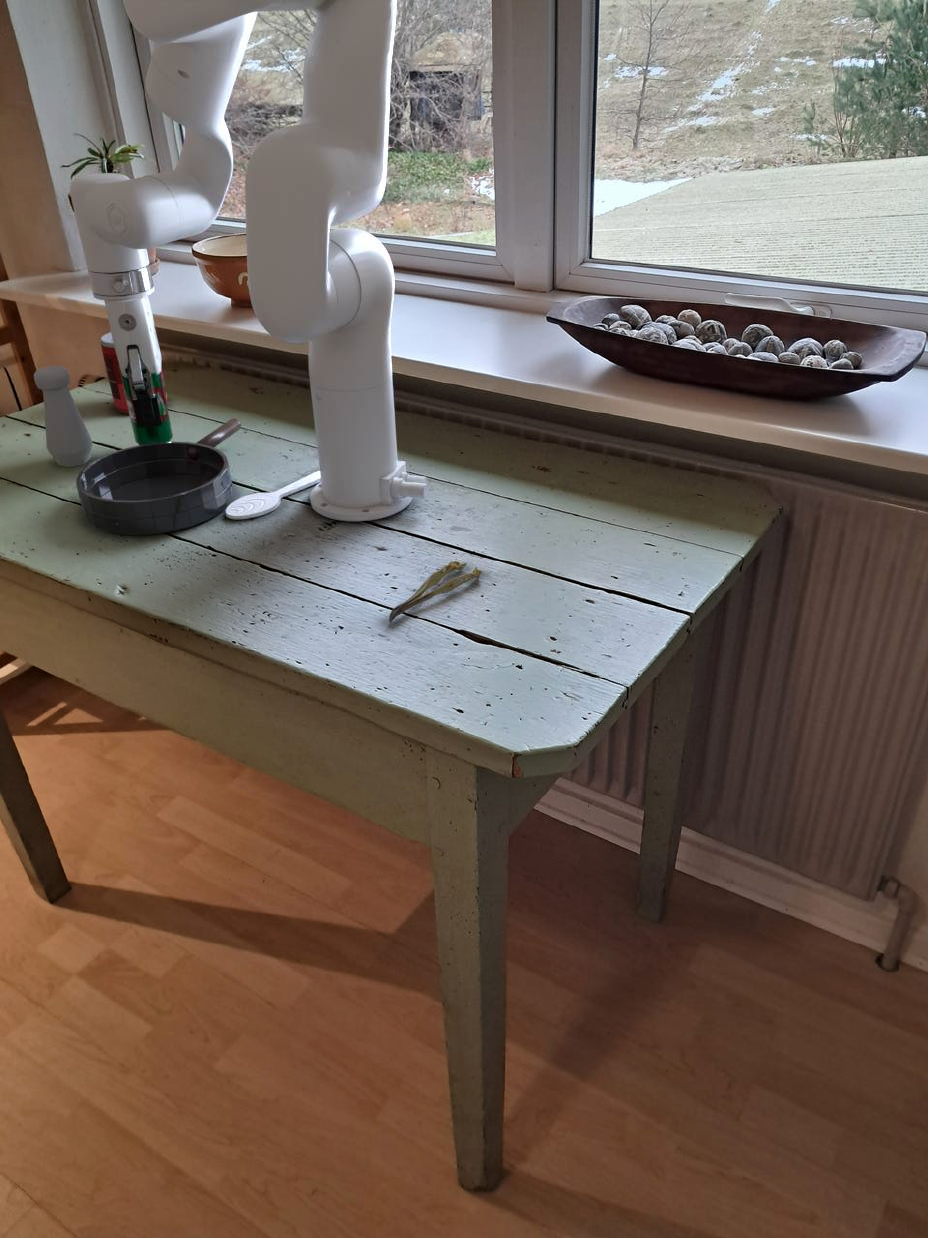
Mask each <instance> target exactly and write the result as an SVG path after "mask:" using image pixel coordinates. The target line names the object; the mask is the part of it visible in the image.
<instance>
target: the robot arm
mask: <svg viewBox="0 0 928 1238" xmlns="http://www.w3.org/2000/svg"><path fill="white" fill-rule="evenodd" d="M122 3H123V7H124V10H125V13H126V16H127V17H128V19H129V21H130V23H131V24H132V26H133V27H134V29H135V30H136V31H137V32H138V33H139V34H141V35H142V36H143V37H144V38H146V39H148V40H150V41H151V42H153V43H155V44H154V47H153V50H152V53H151V58H150V61H149V65H148V69H147V72H146V76H145V81H144V82H145V83H144V84H145V90H146V93H147V96H148V97H149V100H150V101H151V102H152V104H153V105H154V106H155V107H156V108H157V109H158V111H160V112H161V113H163V114H164V115H165V116H166V117H168V118H169V119H170V120H172V121H173V122H175V123H177V124H179V125H181V126H183V127H184V128H185V131H184V132H185V133H184V139H183V143H182V146H181V147H182V148H181V151H180V153H179V157H178V160H177V162H176V163H177V164H176V166H175V167H174V169H173V170H168V171H162V172H158V173H151V174H148V175H147V174H146V175H143V176H140V177H135V178H130V177H128V176H127V175H125V174H122V173H118V172H117V173H115V172H101V173H100V172H98V173H90V174H85V175H81V176H78V177H75V178H74V179H72V181H71V183H70V187H69V193H70V198H71V203H72V207H73V212H74V216H75V221H76V225H77V229H78V234H79V238H80V243H81V248H82V251H83V256H84V261H85V265H86V269H87V274H88V278H89V282H90V287H91V292H92V296H93V298H95V299H96V300H99V301H104V306H105V311H106V315H107V320H108V324H109V329H110V332H111V334H112V338H113V342H114V346H115V350H116V354H117V358H118V362H119V365H120V369H121V372H122V375H123V376H124V377H126V378H129V382H130V387H131V392H132V397H133V398H132V403H133V408H134V412H135V417H136V422H137V426H138V427H139V428H144V427H153V426H161V425H162V419H161V414H160V409H159V404H158V399H157V395H156V396H155V395H154V390H153V384H152V379H151V373H156V375H159V374H160V372H161V368H162V352H161V349H160V343H159V339H158V335H157V329H156V326H155V320H154V315H153V310H152V306H151V302H150V299H149V296H150V295H152V294H153V293H155V285H154V280H153V275H152V269H151V265H150V259H149V254H148V249H152V248H156V247H159V246H163V245H167V244H169V243H171V242H175V241H178V240H182V239H185V238H191V237H193V236H197V235H200V234H203V233H204V232H205V231H206V230H208V229H209V228H210V227H211V226H212V225H213V223H214V222H215V221H216V219H217V218H218V215H219V214H220V211H221V209H222V207H223V204H224V201H225V199H226V196H227V193H228V190H229V188H230V184H231V181H232V178H233V173H234V155H233V145H232V140H231V139H232V138H231V134H230V132H229V128H228V126H227V123H226V121H225V114H226V112H227V111H226V110H227V108H228V104H229V101H230V98H231V96H232V93H233V88H234V86H235V82H236V80H237V77H238V73H239V71H240V68H241V64H242V62H243V59H244V56H245V53H246V50H247V46H248V43H249V41H250V37H251V34H252V31H253V29H254V26H255V22H256V19H257V16H258V13H259V12H273V11H296V10H311V11H312V12H313V13H315V15H316V22H315V24H314V25H315V26H314V28H313V30H312V33H311V35H310V38H309V41H308V44H307V48H306V51H305V55H304V60H303V67H302V68H303V69H302V89H303V91H302V92H303V96H302V113H301V119H300V123H299V124H295V125H289V126H285V127H281V128H278V129H276V130H273V131H271V132H269V133H268V134H267V135H265V136H264V137H263V138H262V139H261V140H260V141H259V142H258V143H257V145H256V146H255V148H254V149H253V151H252V153H251V155H250V158H249V160H248V164H247V168H246V172H245V178H244V206H245V207H244V211H245V214H244V215H245V239H246V240H245V241H246V266H247V267H246V268H247V269H246V270H247V285H248V293H249V298H250V302H251V307H252V309H253V312H254V314H255V316H256V318H257V321H258V322H259V323H260V326H262V328H263V329H264V330H265V331H266V332H267V333H268V334H269V335H270V336H271V337H273V338H274V339H276V340H278V341H279V342H283V343H288V344H303V343H308V351H307V353H308V354H307V362H308V364H307V367H308V375H309V387H310V395H311V404H312V410H313V411H312V413H313V422H314V431H315V438H316V439H315V440H316V448H317V458H318V465H319V470H320V476H321V482H319V483H317V484H315V486H314V487H313V488H312V490H311V491H310V494H309V500H310V505H311V507H312V509H313V510H314V511H315V512H316V513H317V514H319V515H321V516H323V517H325V518H328V519H332V520H337V521H341V522H369V521H376V520H380V519H383V518H384V519H385V518H387V517H390V516H393V515H396V514H397V513H400V512H401V511H403V510H404V509H405V508H407V507H408V506H409V505H410V503H411V502H412V500H413V499H415V500H423V501H427V500H428V499H429V495H430V484H428V483H427V482H428V479H427V476H423V475H421V476H420V475H412V474H411V475H410V473H409V472H407V465H406V464H407V463H406V461H403V460H398V447H397V446H398V445H397V443H398V442H397V431H396V430H397V429H396V413H395V412H396V411H395V399H394V385H393V384H394V383H393V381H394V380H393V363H392V335H391V333H392V318H393V307H394V301H395V300H394V298H395V284H396V283H395V282H396V281H395V271H394V266H393V262H392V260H391V257H390V254H389V252H388V250H387V249H386V247H385V245H384V244H383V243H382V242H381V241H380V239H379V238H377V237H376V236H374V235H373V234H372V233H369V232H368V231H366V230H362V229H360V228H356V227H341V228H340V227H339V228H335V229H334V228H333V229H331V228H332V227H334V226H335V227H336V226H338V225H341V224H344V223H347V222H351V221H353V220H357V219H359V218H361V217H363V216H365V215H369V214H370V213H371V212H373V211H374V210H375V209H376V208H377V207H378V206H379V204H380V203H381V202H382V201H383V200H382V199H383V197H384V194H385V190H386V186H387V175H388V153H389V132H390V131H389V130H390V110H391V109H390V108H391V76H392V73H391V72H392V63H393V62H392V59H393V52H394V51H393V50H394V42H395V34H396V22H397V0H122ZM139 352H140V354H139ZM126 368H127V369H126ZM142 369H146V370H147V374H142ZM131 372H132V373H131ZM128 376H129V377H128ZM145 378H147V382H148V384H147V382H144V379H145Z"/></svg>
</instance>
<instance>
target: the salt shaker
mask: <svg viewBox="0 0 928 1238" xmlns="http://www.w3.org/2000/svg"><path fill="white" fill-rule="evenodd" d="M33 381H34V383H35V386H36V387H37V388H38V389H39V390H42V397H43V411H44V426H45V441H46V449H47V451H48V453H49V454H50V455H51V457H52V458H53V459H54V461H55V462H56V463H57V465H58V466H59V467H66V468H74V467H78V466H81V465H85V464H86V463H87V462H88V461H89V460H90V459H91V455H92V449H93V439H92V437H91V435H90V432H89V430H88V429H87V426H86V424H85V422H84V420H83V417H82V416H81V413H80V411H79V408H78V407H77V405H76V402H75V400H74V398H73V396H72V394H71V392H70V389H69V388H68V385H69V384H70V383H71V377H70V373H69V371H68V370H67V369H66V368H65V367H64V366H62V365H46V366H42V367H40V368H38V369H36V370H35V371H34V373H33Z"/></svg>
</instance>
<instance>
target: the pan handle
mask: <svg viewBox="0 0 928 1238" xmlns="http://www.w3.org/2000/svg"><path fill="white" fill-rule="evenodd" d="M241 427H242V423H241V421H240V420H239V419H237V418H231V419H229V420H228V421H226V422H225V423H223V424H221V425H220V426H218V427H217V428H216V429H214V430H213V431H212V432H210V433H208V434H207V435H205V436H204V437H202V438H201V439H199V440H198V441H197V442H196V443H199V444H204V445H207V446H211V447H214V448H216V447H218V446H219V445H220V444H222V443H223V442H224V441H226V440H227V439H229V438H231V436H233V435H234V434H236V433H238V431H239V430H241ZM187 453H188V456H189V457H190V458H191V459H194V460H196V459H198V458H199V453H198V451H197V450H196V449H195V448H193V447H191V448H189V449H188V451H187Z"/></svg>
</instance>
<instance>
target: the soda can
mask: <svg viewBox="0 0 928 1238" xmlns="http://www.w3.org/2000/svg"><path fill="white" fill-rule="evenodd" d="M139 354H140V352H139ZM126 369H127V368H126ZM119 370H120V374H121V379H122V383H123V388H124V392H125V397H126V401H127V406H128V410H129V414H128V415H129V420H130V422H131V428H132V433H133V436H134V441H135V443H136V444H137V445H144V444H151V443H159V442H172V439H173V437H174V434H173V429H172V425H171V424H172V423H171V419H170V413H169V409H168V404H167V402H166V398H165V393H164V388H163V383H162V378H161V373H160V374H159V375H156V373H151V379H152V384H153V390H154V395H155V396H156V395H157V399H158V404H159V409H160V414H161V419H162V425H161V426H153V427H144V428H139V427H138V426H137V422H136V417H135V412H134V408H133V403H132V398H133V397H132V392H131V387H130V382H129V378H126V377H124V376H123V375H122V372H121V369H120V365H119ZM131 373H132V372H131ZM142 374H147V370H146V369H142ZM128 377H129V376H128ZM144 382H147V378H145V379H144ZM147 384H148V382H147Z"/></svg>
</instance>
